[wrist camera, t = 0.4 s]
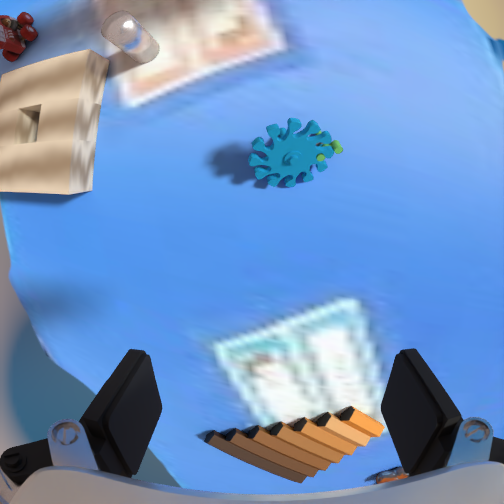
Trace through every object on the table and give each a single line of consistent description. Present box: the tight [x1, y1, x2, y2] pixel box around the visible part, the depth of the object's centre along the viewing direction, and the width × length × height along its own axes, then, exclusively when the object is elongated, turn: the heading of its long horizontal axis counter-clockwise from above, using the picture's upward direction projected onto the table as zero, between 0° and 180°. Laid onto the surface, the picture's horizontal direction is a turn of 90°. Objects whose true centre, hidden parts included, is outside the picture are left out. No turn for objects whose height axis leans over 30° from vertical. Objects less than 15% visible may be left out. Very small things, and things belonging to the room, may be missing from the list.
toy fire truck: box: [0, 12, 38, 62], centre depth 26 cm, size 7×12×10 cm, turn 30°
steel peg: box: [101, 11, 160, 63], centre depth 28 cm, size 4×4×10 cm
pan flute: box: [204, 406, 385, 483], centre depth 48 cm, size 25×3×25 cm
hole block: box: [0, 49, 110, 195], centre depth 33 cm, size 20×20×6 cm
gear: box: [248, 118, 343, 187], centre depth 34 cm, size 11×6×10 cm
